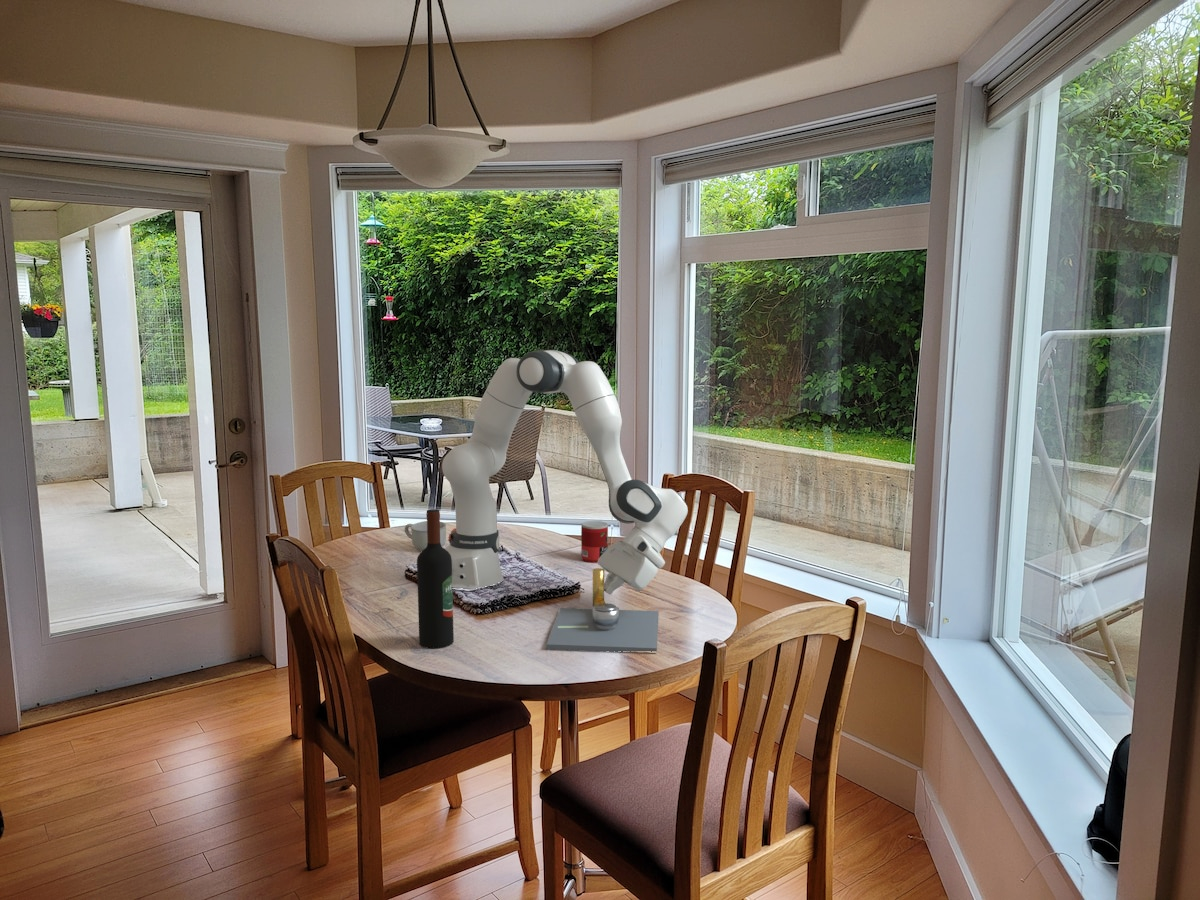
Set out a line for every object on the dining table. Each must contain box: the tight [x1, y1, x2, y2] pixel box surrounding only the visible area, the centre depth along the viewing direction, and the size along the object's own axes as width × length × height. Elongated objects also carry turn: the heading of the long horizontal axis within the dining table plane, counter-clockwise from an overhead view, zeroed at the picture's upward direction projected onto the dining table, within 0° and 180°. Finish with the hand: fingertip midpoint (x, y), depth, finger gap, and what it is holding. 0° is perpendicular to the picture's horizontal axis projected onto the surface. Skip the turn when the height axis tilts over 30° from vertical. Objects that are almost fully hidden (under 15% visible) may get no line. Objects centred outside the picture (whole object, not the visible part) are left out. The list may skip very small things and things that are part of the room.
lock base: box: [545, 607, 660, 653], centre depth 197 cm, size 24×24×2 cm
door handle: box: [592, 567, 620, 626], centre depth 201 cm, size 15×6×9 cm, turn 9°
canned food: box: [580, 520, 609, 564], centre depth 256 cm, size 8×8×11 cm
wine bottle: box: [416, 508, 455, 650], centre depth 188 cm, size 8×8×30 cm
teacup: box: [404, 520, 447, 552], centre depth 268 cm, size 14×11×8 cm
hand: (605, 591), depth 208 cm, fingers closed, pressing on door handle
